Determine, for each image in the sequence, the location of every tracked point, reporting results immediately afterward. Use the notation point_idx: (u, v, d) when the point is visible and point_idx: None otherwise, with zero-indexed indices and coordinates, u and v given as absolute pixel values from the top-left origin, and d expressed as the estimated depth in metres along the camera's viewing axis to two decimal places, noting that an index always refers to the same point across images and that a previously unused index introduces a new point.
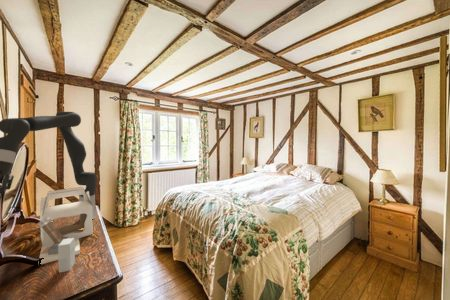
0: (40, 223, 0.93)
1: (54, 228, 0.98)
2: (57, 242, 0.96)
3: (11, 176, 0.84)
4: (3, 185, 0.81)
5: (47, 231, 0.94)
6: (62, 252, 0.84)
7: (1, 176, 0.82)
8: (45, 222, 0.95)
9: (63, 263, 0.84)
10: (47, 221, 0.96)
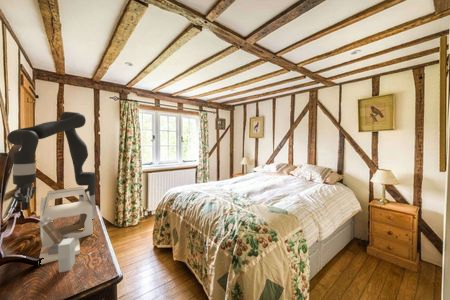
0: (40, 223, 0.93)
1: (54, 228, 0.98)
2: (57, 242, 0.96)
3: (17, 195, 0.87)
4: None
5: (47, 231, 0.94)
6: (62, 252, 0.84)
7: None
8: (45, 222, 0.95)
9: (63, 263, 0.84)
10: (47, 221, 0.96)
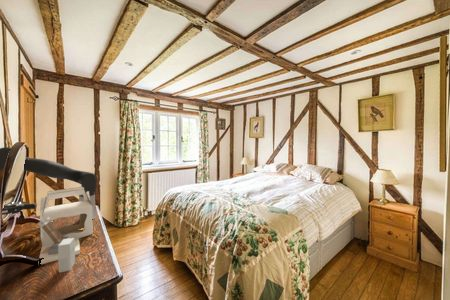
0: (40, 223, 0.93)
1: (54, 228, 0.98)
2: (57, 242, 0.96)
3: (3, 211, 0.86)
4: None
5: (47, 231, 0.94)
6: (62, 252, 0.84)
7: None
8: (45, 222, 0.95)
9: (63, 263, 0.84)
10: (47, 221, 0.96)
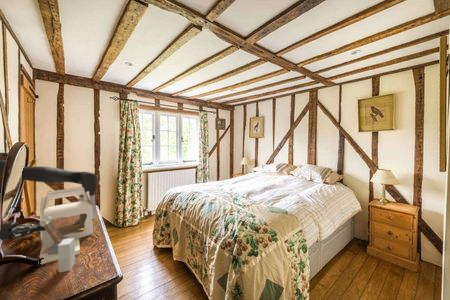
0: (42, 222, 0.93)
1: (55, 228, 0.98)
2: (57, 242, 0.96)
3: (17, 234, 0.88)
4: None
5: (48, 230, 0.95)
6: (62, 252, 0.84)
7: None
8: (47, 221, 0.95)
9: (63, 263, 0.84)
10: (49, 220, 0.96)
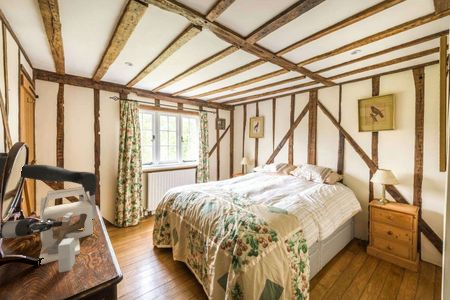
0: (65, 218, 0.96)
1: (67, 227, 1.00)
2: (59, 242, 0.96)
3: (35, 230, 0.90)
4: None
5: (62, 228, 0.96)
6: (62, 252, 0.84)
7: None
8: (68, 219, 0.97)
9: (63, 263, 0.84)
10: (69, 218, 0.99)
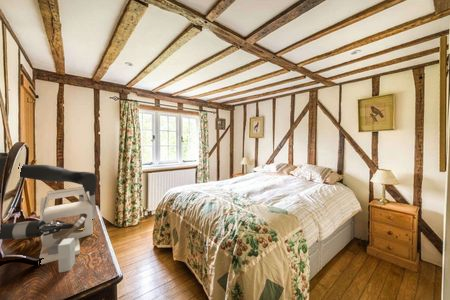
0: (78, 223, 0.98)
1: None
2: (60, 242, 0.96)
3: (45, 232, 0.91)
4: None
5: (70, 230, 0.97)
6: (62, 252, 0.84)
7: None
8: (80, 224, 0.99)
9: (63, 263, 0.84)
10: (81, 223, 1.01)
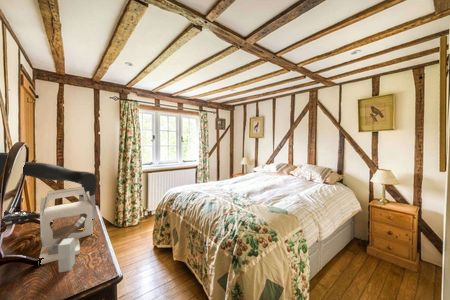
0: (78, 223, 0.98)
1: None
2: (60, 242, 0.96)
3: (7, 222, 0.87)
4: None
5: (70, 230, 0.97)
6: (62, 252, 0.84)
7: None
8: (80, 224, 0.99)
9: (63, 263, 0.84)
10: (81, 223, 1.01)
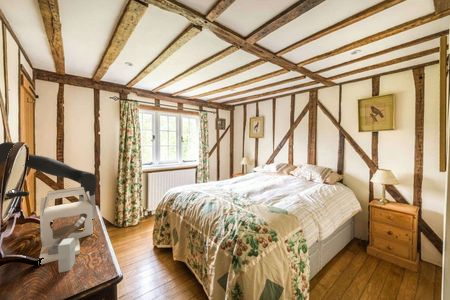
0: (78, 223, 0.98)
1: None
2: (60, 242, 0.96)
3: None
4: None
5: (70, 230, 0.97)
6: (62, 252, 0.84)
7: None
8: (80, 224, 0.99)
9: (63, 263, 0.84)
10: (81, 223, 1.01)
